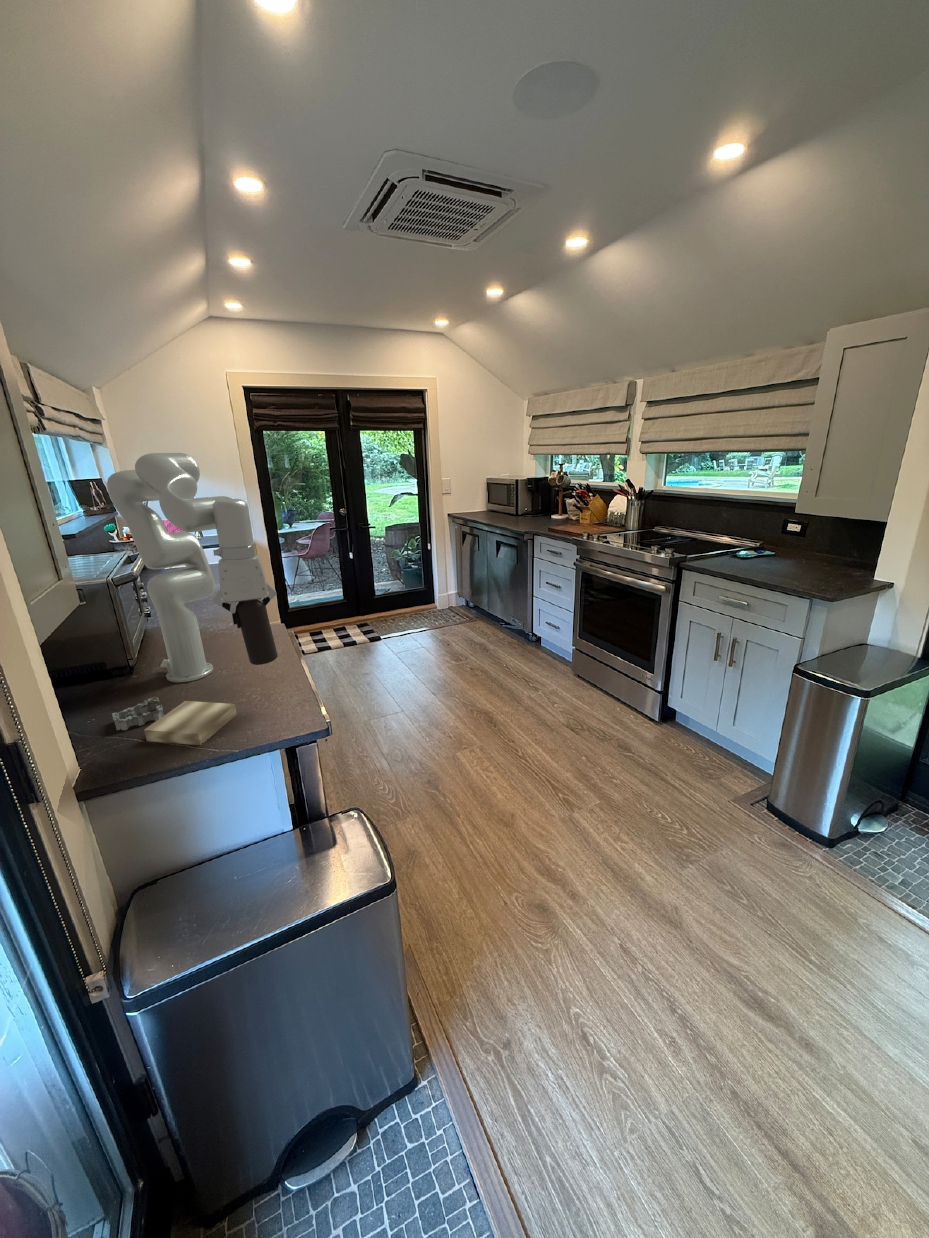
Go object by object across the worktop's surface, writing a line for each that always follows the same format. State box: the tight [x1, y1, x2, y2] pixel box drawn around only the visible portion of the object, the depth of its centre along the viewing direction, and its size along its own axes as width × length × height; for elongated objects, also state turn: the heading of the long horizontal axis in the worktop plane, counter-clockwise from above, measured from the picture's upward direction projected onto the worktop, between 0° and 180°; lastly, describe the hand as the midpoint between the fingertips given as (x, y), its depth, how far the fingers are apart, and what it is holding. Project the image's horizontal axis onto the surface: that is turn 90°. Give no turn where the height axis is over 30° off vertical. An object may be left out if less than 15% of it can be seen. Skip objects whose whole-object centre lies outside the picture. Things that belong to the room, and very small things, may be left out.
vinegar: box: [236, 599, 279, 666], centre depth 122 cm, size 7×7×20 cm
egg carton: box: [111, 695, 165, 731], centre depth 123 cm, size 11×8×4 cm
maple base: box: [143, 700, 238, 746], centre depth 119 cm, size 14×14×3 cm
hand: (250, 624), depth 122 cm, fingers closed on vinegar, 4 cm apart
